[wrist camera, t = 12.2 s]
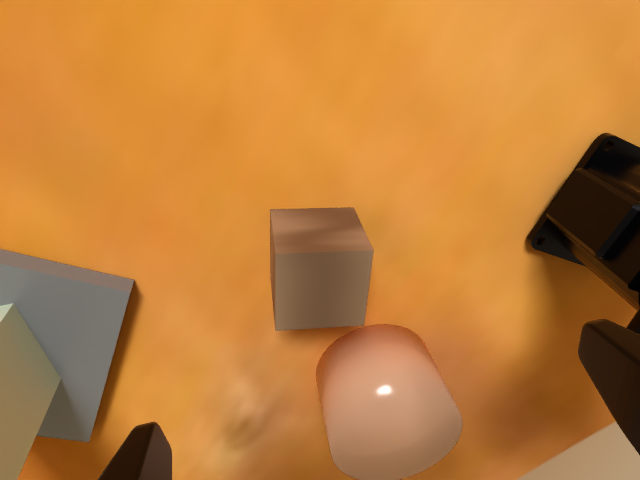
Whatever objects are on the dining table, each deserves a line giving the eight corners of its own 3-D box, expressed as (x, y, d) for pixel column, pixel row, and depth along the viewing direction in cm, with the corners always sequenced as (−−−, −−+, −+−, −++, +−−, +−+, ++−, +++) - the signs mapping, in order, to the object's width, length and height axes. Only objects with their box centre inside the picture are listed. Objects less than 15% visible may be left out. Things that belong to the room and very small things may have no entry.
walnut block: (353, 206, 22) (373, 250, 19) (346, 274, 24) (364, 325, 21) (269, 208, 22) (275, 253, 18) (270, 278, 24) (275, 330, 20)
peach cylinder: (446, 331, 28) (484, 396, 23) (404, 412, 31) (431, 483, 26) (335, 316, 26) (355, 385, 21) (302, 404, 29) (314, 480, 24)
